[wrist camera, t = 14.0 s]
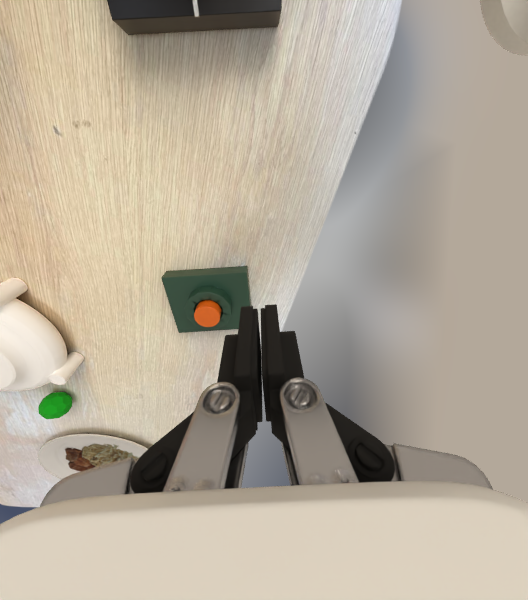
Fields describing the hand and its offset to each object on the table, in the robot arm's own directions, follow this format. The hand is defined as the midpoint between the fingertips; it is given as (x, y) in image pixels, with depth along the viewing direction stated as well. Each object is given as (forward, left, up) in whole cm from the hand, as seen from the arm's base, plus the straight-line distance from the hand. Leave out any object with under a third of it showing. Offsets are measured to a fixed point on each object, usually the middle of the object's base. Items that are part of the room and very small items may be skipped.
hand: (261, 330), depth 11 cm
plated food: (+44, +60, -24) cm, 78 cm away
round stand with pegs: (+43, +16, -24) cm, 51 cm away
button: (+8, +12, -20) cm, 24 cm away
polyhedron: (+42, +33, -24) cm, 58 cm away
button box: (+8, +12, -23) cm, 27 cm away
